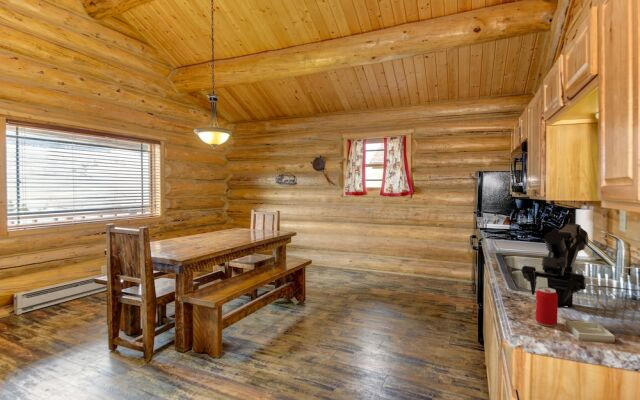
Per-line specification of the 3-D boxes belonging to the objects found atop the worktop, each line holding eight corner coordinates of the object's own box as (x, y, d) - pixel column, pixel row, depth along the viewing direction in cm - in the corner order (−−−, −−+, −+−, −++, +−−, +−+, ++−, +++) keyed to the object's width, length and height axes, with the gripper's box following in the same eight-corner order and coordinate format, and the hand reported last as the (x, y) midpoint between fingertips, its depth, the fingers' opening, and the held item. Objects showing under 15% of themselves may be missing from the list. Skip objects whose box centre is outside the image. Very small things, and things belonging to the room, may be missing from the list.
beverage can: (553, 320, 121) (554, 287, 120) (559, 328, 115) (560, 293, 114) (533, 318, 123) (534, 285, 122) (538, 326, 117) (539, 292, 116)
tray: (597, 328, 115) (597, 322, 114) (614, 342, 105) (614, 336, 105) (565, 326, 117) (565, 320, 117) (578, 339, 108) (578, 333, 108)
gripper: (523, 244, 128) (513, 280, 122) (586, 251, 115) (578, 292, 108) (529, 260, 135) (519, 295, 128) (589, 269, 121) (582, 309, 114)
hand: (547, 297), depth 119 cm, fingers open, 9 cm apart
